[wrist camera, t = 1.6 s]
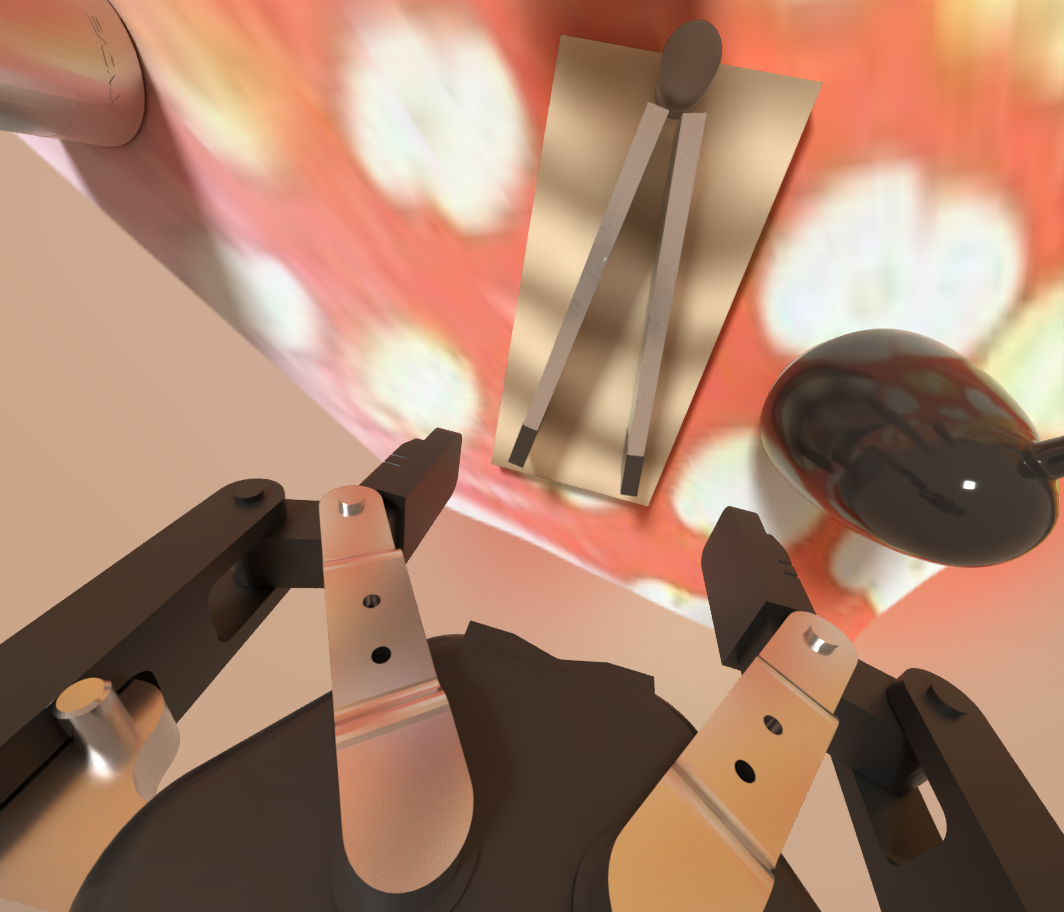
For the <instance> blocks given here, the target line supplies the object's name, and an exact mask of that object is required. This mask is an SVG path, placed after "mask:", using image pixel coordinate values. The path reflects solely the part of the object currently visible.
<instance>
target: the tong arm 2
mask: <svg viewBox="0 0 1064 912" xmlns="http://www.w3.org/2000/svg"><path fill="white" fill-rule="evenodd" d="M706 115H707V113H683V114H682V116H681V118H680V120H679V122H678V124H677V126H676V128H675V130H674V135H673V142H672V148H671V155H670V161H669V167H668V174H667V180H666V186H665V193H664V199H663V206H662V212H661V218H660V225H659V231H658V237H657V244H656V250H655V256H654V263H653V269H652V276H651V282H650V288H649V295H648V301H647V307H646V314H645V320H644V327H643V333H642V339H641V346H640V352H639V358H638V365H637V371H636V378H635V384H634V390H633V397H632V403H631V409H630V416H629V422H628V428H627V430H626V436H625V443H624V449H623V456H622V462H621V485H620V495H627V496H635V497H637V494H638V489H639V483H640V478H641V473H642V467H643V462H644V451H645V446H646V441H647V435H648V430H649V424H650V419H651V413H652V408H653V403H654V397H655V392H656V386H657V381H658V375H659V370H660V365H661V359H662V354H663V348H664V343H665V337H666V332H667V327H668V321H669V316H670V310H671V305H672V299H673V294H674V289H675V283H676V278H677V272H678V267H679V261H680V256H681V251H682V245H683V240H684V234H685V229H686V223H687V218H688V213H689V207H690V202H691V196H692V191H693V185H694V180H695V175H696V169H697V164H698V158H699V153H700V147H701V142H702V137H703V131H704V126H705V120H706Z"/></svg>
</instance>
